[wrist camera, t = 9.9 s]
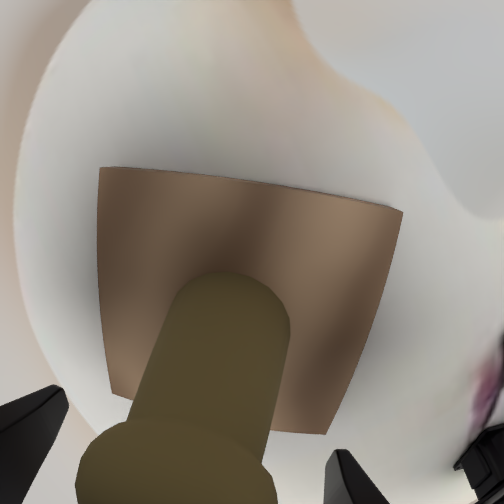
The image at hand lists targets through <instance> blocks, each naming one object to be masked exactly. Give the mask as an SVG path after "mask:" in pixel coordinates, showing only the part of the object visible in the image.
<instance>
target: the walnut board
mask: <svg viewBox="0 0 504 504" xmlns="http://www.w3.org/2000/svg"><path fill="white" fill-rule="evenodd" d="M402 216H403V212H402V211H399V210H397V209H394V208H392V207H388V206H384V205H379V204H375V203H370V202H366V201H361V200H356V199H351V198H346V197H341V196H336V195H331V194H326V193H321V192H315V191H310V190H304V189H299V188H293V187H287V186H281V185H275V184H268V183H262V182H255V181H248V180H241V179H234V178H226V177H219V176H211V175H202V174H193V173H184V172H175V171H164V170H153V169H141V168H128V167H102V168H100V172H99V186H98V206H97V267H98V287H99V301H100V313H101V323H102V332H103V340H104V347H105V355H106V361H107V367H108V373H109V379H110V384H111V390H112V394H115V395H118V396H121V397H124V398H127V399H130V400H133V401H134V398H135V395H136V392H137V390H138V387H139V384H140V381H141V379H142V376H143V373H144V371H145V368H146V366H147V363H148V360H149V358H150V355H151V353H152V350H153V348H154V345H155V342H156V340H157V337H158V335H159V332H160V330H161V327H162V325H163V323H164V320H165V318H166V315H167V313H168V310H169V308H170V306H171V304H172V302H173V300H174V298H175V296H176V294H177V292H178V291H179V290H180V289H181V288H183V287H184V286H185V285H186V284H187V283H188V282H189V281H190V280H192V279H195V278H197V277H200V276H202V275H205V274H208V273H217V272H233V273H237V274H241V275H245V276H250V277H252V278H254V279H255V280H257V281H259V282H261V283H262V284H264V285H266V286H268V287H269V288H270V289H271V290H272V291H273V292H274V293H275V295H276V296H277V297H278V298H279V299H280V300H281V301H282V302H283V305H284V307H285V309H286V311H287V314H288V316H289V318H290V335H291V336H290V341H289V346H288V351H287V356H286V361H285V365H284V370H283V375H282V379H281V384H280V388H279V393H278V397H277V402H276V406H275V410H274V415H273V419H272V423H271V427H270V430H273V431H282V432H293V433H306V434H323V435H326V433H327V431H328V429H329V427H330V425H331V423H332V421H333V419H334V416H335V414H336V412H337V410H338V408H339V406H340V404H341V401H342V399H343V397H344V395H345V393H346V390H347V388H348V386H349V383H350V381H351V379H352V376H353V374H354V371H355V369H356V366H357V364H358V361H359V359H360V356H361V354H362V351H363V349H364V346H365V343H366V341H367V338H368V335H369V332H370V329H371V327H372V324H373V321H374V318H375V315H376V312H377V309H378V306H379V303H380V299H381V296H382V293H383V290H384V286H385V283H386V280H387V276H388V273H389V269H390V265H391V262H392V258H393V254H394V250H395V246H396V242H397V238H398V234H399V230H400V225H401V221H402Z"/></svg>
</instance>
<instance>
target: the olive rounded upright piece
mask: <svg viewBox="0 0 504 504" xmlns="http://www.w3.org/2000/svg"><path fill="white" fill-rule="evenodd" d="M290 336H291V335H290V318H289V316H288V314H287V311H286V309H285V307H284V305H283V302H282V301H281V300H280V299H279V298H278V297H277V296H276V295H275V293H274V292H273V291H272V290H271V289H270V288H269V287H268V286H266V285H264V284H262V283H261V282H259V281H257V280H255V279H254V278H252V277H250V276H245V275H241V274H237V273H233V272H217V273H208V274H205V275H202V276H200V277H197V278H195V279H192V280H190V281H189V282H188V283H187V284H186V285H185V286H184V287H183V288H181V289H180V290H179V291H178V292H177V294H176V296H175V298H174V300H173V302H172V304H171V306H170V308H169V310H168V313H167V315H166V318H165V320H164V323H163V325H162V327H161V330H160V332H159V335H158V337H157V340H156V342H155V345H154V348H153V350H152V353H151V355H150V358H149V360H148V363H147V366H146V368H145V371H144V373H143V376H142V379H141V381H140V384H139V387H138V390H137V392H136V395H135V398H134V401H133V403H132V406H131V409H130V412H129V415H128V418H127V420H126V421H125V422H122V423H118V424H116V425H114V426H113V427H111V428H109V429H107V430H105V431H104V432H103V433H102V434H100V435H99V436H98V437H97V438H96V439H95V440H93V441H92V442H91V443H90V445H89V446H88V448H87V449H86V451H85V453H84V454H83V456H82V457H81V460H80V464H79V468H78V472H77V477H76V482H75V488H76V495H77V501H78V504H278V500H277V493H276V489H275V486H274V482H273V479H272V476H271V475H270V473H269V472H268V471H267V470H266V469H265V468H264V466H263V465H262V464H261V463H262V459H263V455H264V451H265V447H266V443H267V439H268V435H269V431H270V427H271V423H272V419H273V415H274V410H275V406H276V402H277V397H278V393H279V388H280V384H281V379H282V375H283V370H284V365H285V361H286V356H287V351H288V346H289V341H290Z"/></svg>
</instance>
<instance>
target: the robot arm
mask: <svg viewBox="0 0 504 504" xmlns="http://www.w3.org/2000/svg"><path fill="white" fill-rule="evenodd" d="M68 408H69V403H68V400H67V397H66V394H65V391H64V389H63V388H61V387H59V386H57V385H50V386H48V387H45V388H43V389H41V390H39V391H36V392H33V393H31V394H29V395H26V396H24V397H21V398H19V399H16V400H14V401H11V402H9V403H6V404H4V405H2V406H0V504H22V502H23V500H24V498H25V496H26V494H27V492H28V490H29V488H30V486H31V484H32V482H33V480H34V478H35V477H36V475H37V473H38V471H39V469H40V467H41V465H42V463H43V462H44V460H45V458H46V456H47V454H48V452H49V450H50V449H51V447H52V445H53V443H54V441H55V439H56V437H57V435H58V432H59V430H60V428H61V425H62V423H63V420H64V418H65V416H66V414H67V411H68ZM453 468H454V471H456V470H460V469H464V472H465V474H466V476H467V479H468V481H469V483H470V486H471V488H472V489H474V491H475V493H476V495H477V498H478V500H479V501H478V502H476V503H475V504H504V424H503V425H499V426H495V427H492V428H488V429H486V430H485V431H484V432H483V433H482V434H481V435H480V436H479V438H478V439H477V440H476V441H475V443H474V444H473V445H472V446H471V448H470V449H469V450H468V451H467V452H466V453H465V455H464V456H463V457H462V458H461V459H460V460H459V461H458V462H457V464H456V465H455V466H454V467H453ZM323 504H390V503H389V502H388V501H387V500H386V498H385V497H384V496H383V495H382V493H381V492H380V491H379V489H378V488H377V487H376V486H375V484H374V483H373V482H372V481H371V479H370V478H369V477H368V475H367V474H366V473H365V471H364V470H363V469H362V468H361V466H360V465H359V464H358V462H357V461H356V460H355V458H354V457H353V456H352V454H351V453H350V452H349V451H348V450H347V449H336V450H334V451H333V453H332V455H331V456H330V458H329V460H328V461H327V463H326V467H325V486H324V503H323Z"/></svg>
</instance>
